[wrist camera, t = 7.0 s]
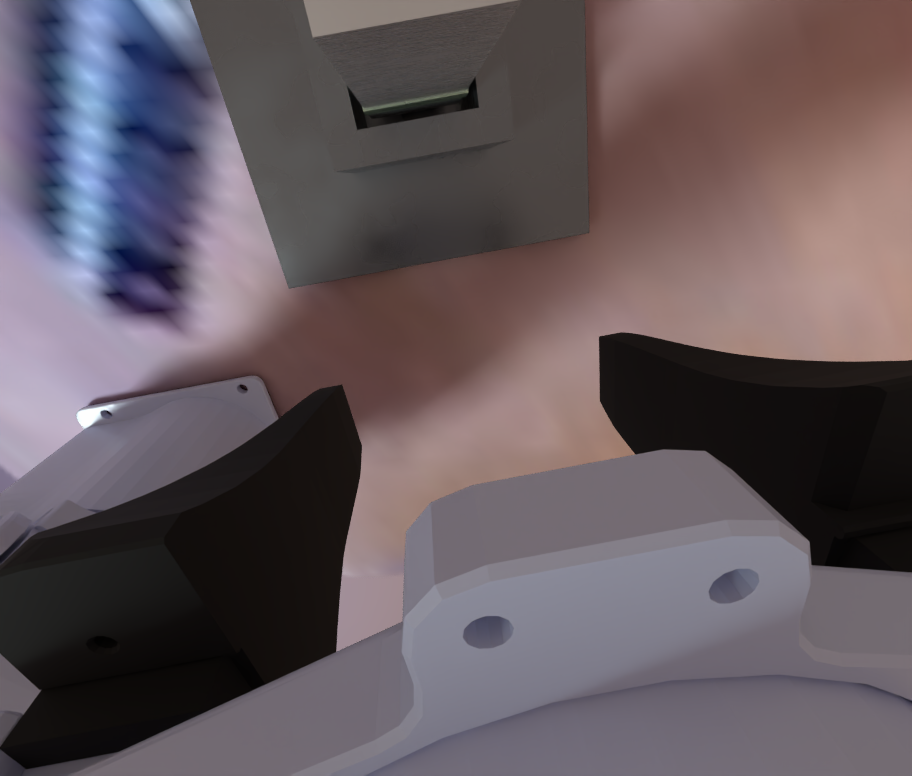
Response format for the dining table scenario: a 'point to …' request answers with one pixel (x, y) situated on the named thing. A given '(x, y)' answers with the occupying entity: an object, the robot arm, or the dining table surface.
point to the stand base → (404, 144)
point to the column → (408, 48)
